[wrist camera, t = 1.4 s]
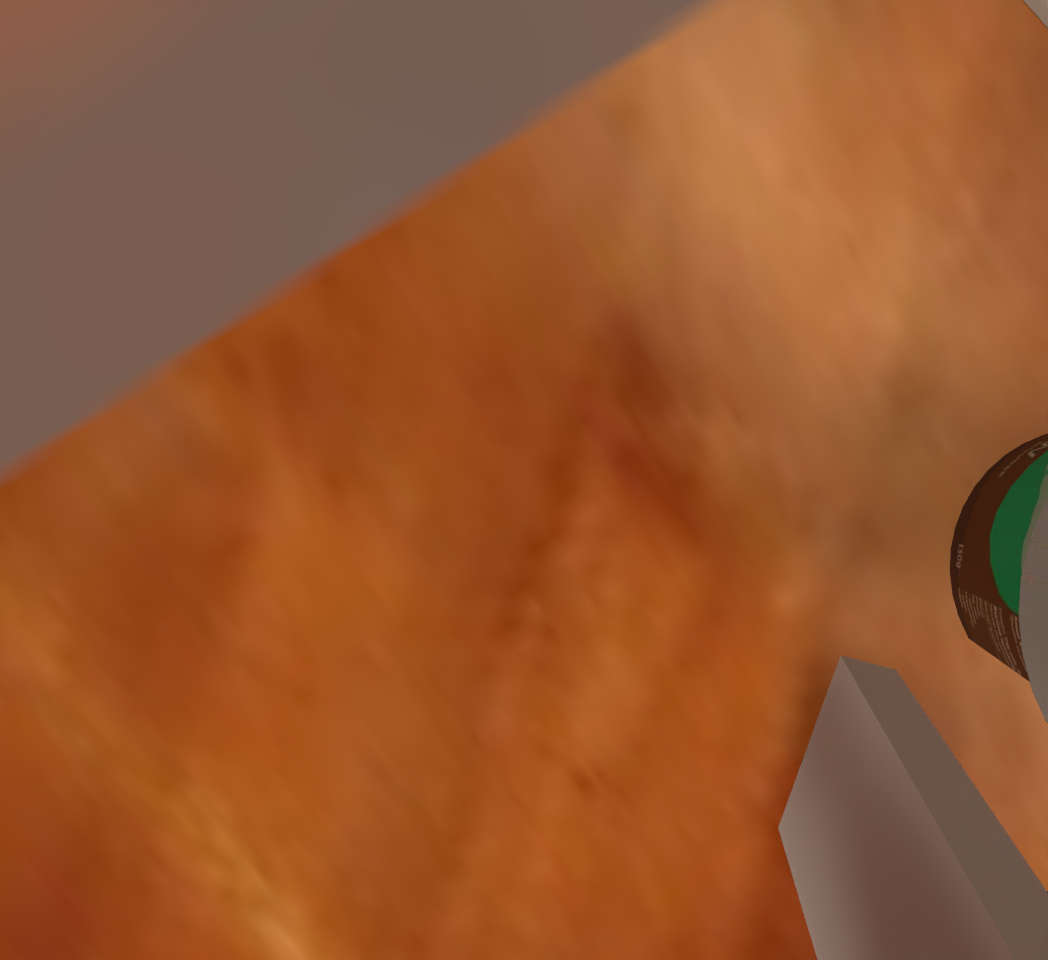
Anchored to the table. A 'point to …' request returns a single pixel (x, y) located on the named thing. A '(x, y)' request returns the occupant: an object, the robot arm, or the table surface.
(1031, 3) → the tray
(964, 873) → the robot arm
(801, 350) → the table surface
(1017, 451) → the grey brown half-round piece
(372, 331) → the table surface
